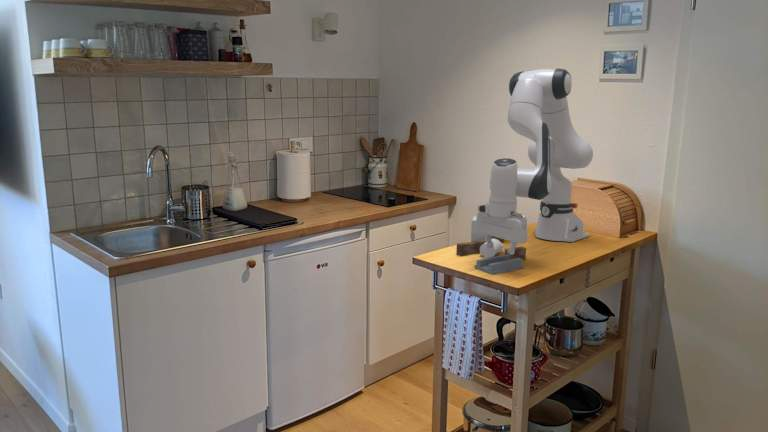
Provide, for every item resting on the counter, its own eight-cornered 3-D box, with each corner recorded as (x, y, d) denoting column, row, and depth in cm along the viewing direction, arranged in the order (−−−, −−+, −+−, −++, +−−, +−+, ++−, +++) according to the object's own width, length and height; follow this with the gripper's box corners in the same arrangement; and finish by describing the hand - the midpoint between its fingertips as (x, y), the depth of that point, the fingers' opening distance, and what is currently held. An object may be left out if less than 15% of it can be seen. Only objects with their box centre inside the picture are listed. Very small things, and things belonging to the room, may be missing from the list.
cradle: (505, 262, 210) (505, 253, 209) (523, 268, 203) (524, 259, 202) (474, 268, 202) (475, 259, 201) (492, 274, 195) (493, 265, 194)
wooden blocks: (491, 248, 228) (491, 238, 227) (525, 259, 214) (526, 247, 213) (456, 254, 218) (456, 243, 217) (490, 266, 204) (490, 254, 204)
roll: (506, 252, 223) (507, 237, 222) (495, 259, 213) (495, 243, 212) (491, 249, 226) (491, 234, 225) (478, 257, 216) (479, 241, 215)
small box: (485, 248, 227) (486, 221, 225) (470, 247, 228) (471, 220, 226) (486, 243, 235) (487, 216, 233) (471, 242, 236) (472, 215, 234)
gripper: (533, 214, 192) (530, 256, 195) (487, 203, 208) (485, 243, 211) (519, 216, 188) (516, 259, 191) (473, 205, 205) (472, 245, 208)
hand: (500, 250), depth 201 cm, fingers open, 8 cm apart
